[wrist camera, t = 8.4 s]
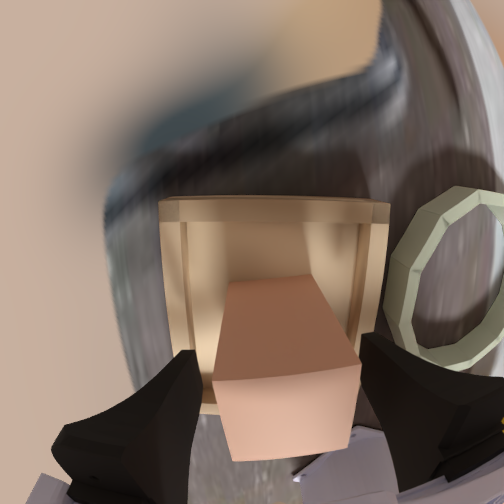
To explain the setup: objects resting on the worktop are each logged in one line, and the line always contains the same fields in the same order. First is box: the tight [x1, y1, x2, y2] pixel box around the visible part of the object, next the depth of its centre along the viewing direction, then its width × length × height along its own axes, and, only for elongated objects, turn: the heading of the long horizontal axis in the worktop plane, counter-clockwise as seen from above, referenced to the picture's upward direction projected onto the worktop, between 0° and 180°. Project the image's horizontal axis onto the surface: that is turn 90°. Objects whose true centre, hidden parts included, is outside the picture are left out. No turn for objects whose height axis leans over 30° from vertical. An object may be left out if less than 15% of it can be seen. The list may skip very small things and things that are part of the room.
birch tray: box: [158, 195, 391, 415], centre depth 16 cm, size 13×11×2 cm
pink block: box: [212, 274, 362, 461], centre depth 12 cm, size 4×4×8 cm
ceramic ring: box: [382, 186, 504, 371], centre depth 16 cm, size 13×13×2 cm
